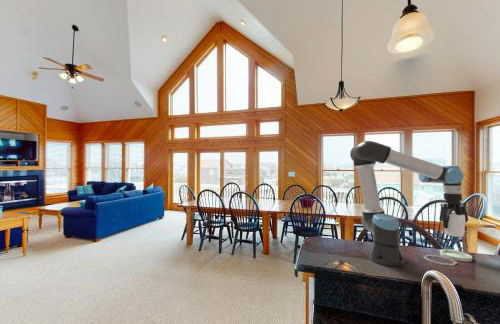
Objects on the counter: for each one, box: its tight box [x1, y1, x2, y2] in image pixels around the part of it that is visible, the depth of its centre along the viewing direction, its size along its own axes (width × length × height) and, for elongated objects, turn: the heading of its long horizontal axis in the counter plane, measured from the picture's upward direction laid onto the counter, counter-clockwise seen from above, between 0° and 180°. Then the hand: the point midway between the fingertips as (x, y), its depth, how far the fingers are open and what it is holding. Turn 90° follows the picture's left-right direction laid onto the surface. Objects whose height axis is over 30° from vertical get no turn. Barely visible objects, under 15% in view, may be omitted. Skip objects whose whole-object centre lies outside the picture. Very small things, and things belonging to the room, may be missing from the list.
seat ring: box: [423, 254, 458, 267], centre depth 115 cm, size 12×12×1 cm
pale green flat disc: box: [439, 249, 473, 262], centre depth 120 cm, size 13×13×2 cm
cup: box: [446, 212, 466, 238], centre depth 121 cm, size 9×9×12 cm
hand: (454, 233), depth 121 cm, fingers closed on cup, 9 cm apart
